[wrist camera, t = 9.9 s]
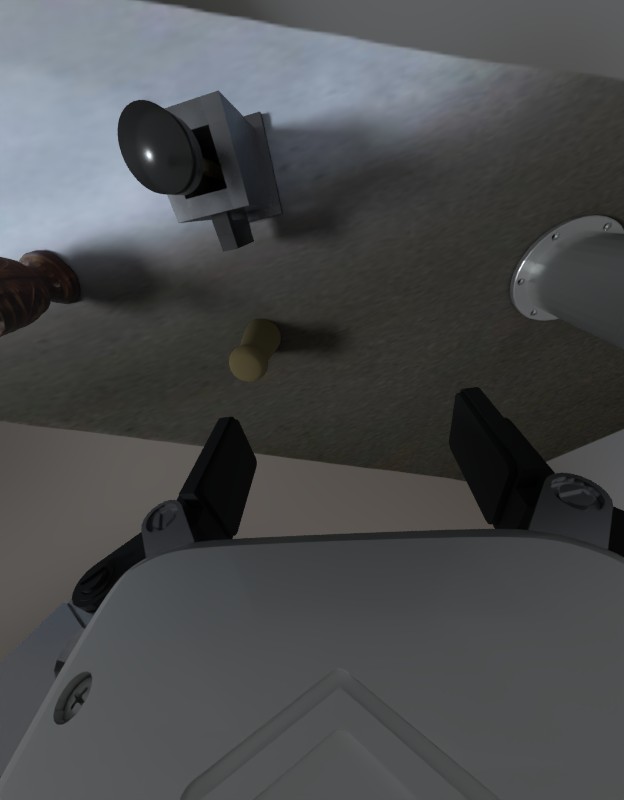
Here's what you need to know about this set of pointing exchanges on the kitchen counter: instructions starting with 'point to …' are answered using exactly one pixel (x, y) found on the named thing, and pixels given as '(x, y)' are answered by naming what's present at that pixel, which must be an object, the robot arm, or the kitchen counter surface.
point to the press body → (228, 170)
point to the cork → (255, 350)
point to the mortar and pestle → (33, 288)
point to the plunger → (163, 150)
